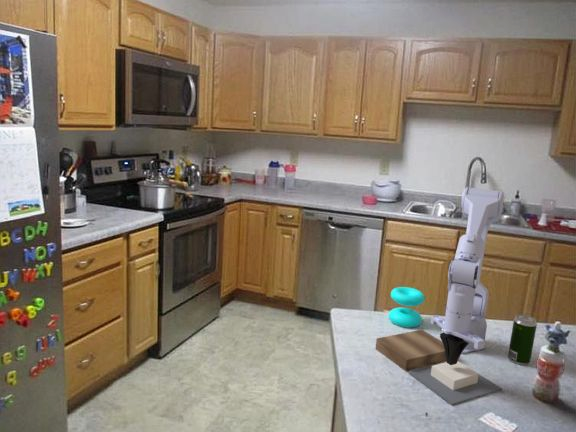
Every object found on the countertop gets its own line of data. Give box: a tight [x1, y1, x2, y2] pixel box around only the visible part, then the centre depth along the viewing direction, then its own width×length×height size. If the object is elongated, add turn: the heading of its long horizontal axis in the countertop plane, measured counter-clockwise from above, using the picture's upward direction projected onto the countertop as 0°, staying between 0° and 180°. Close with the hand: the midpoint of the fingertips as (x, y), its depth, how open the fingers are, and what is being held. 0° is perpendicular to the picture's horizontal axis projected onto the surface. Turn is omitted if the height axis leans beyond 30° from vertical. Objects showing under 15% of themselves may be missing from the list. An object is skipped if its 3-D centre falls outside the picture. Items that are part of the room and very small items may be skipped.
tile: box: [431, 360, 479, 390], centre depth 110 cm, size 8×7×2 cm
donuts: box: [388, 286, 425, 328], centre depth 141 cm, size 10×10×10 cm
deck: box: [375, 329, 447, 372], centre depth 121 cm, size 16×12×3 cm
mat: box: [408, 365, 503, 406], centre depth 109 cm, size 16×14×1 cm
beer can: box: [507, 314, 537, 366], centre depth 120 cm, size 5×5×12 cm
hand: (451, 363), depth 110 cm, fingers closed
